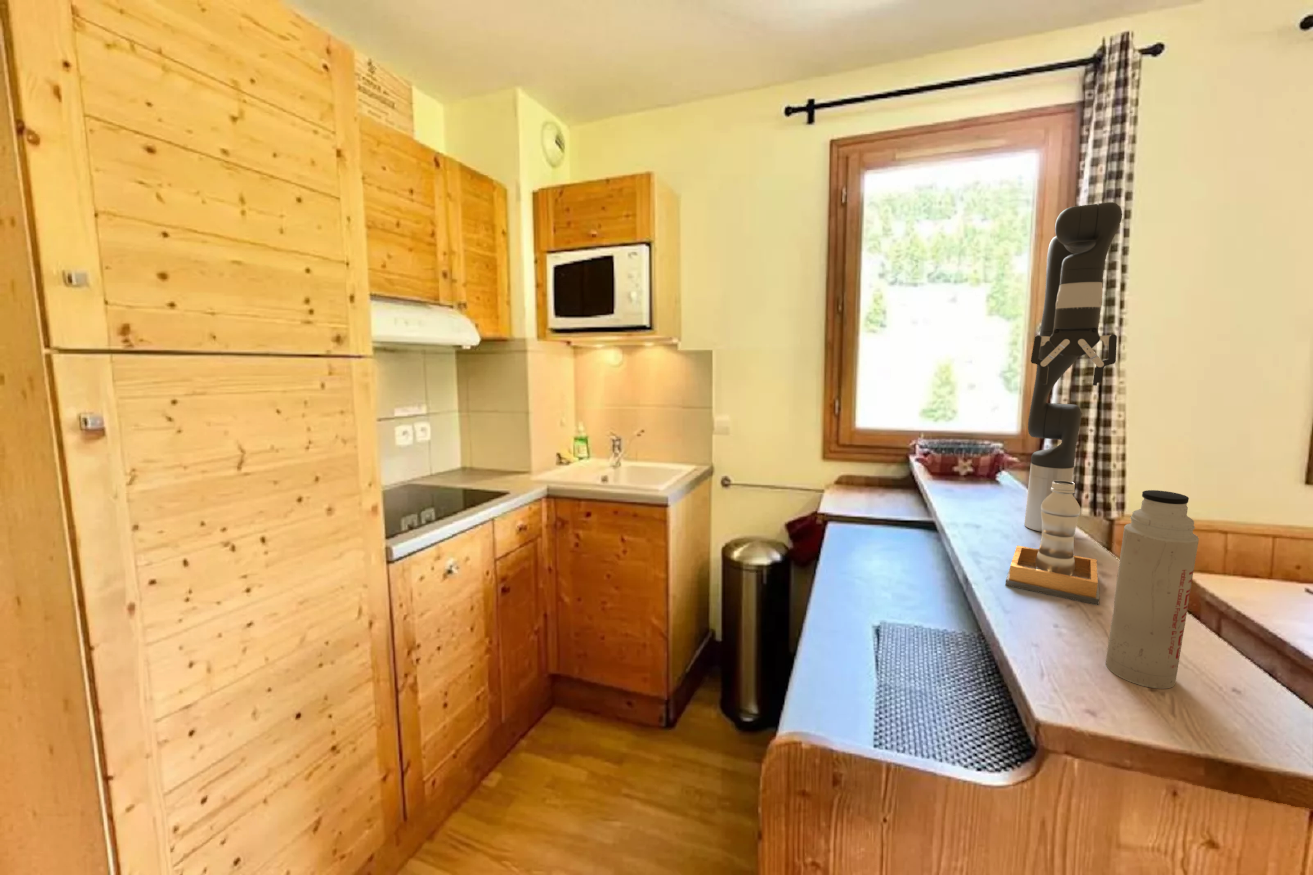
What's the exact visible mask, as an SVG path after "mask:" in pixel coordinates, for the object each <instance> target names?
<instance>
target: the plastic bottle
mask: <svg viewBox="0 0 1313 875" xmlns="http://www.w3.org/2000/svg"><path fill="white" fill-rule="evenodd" d="M1075 486H1076V483H1075V482H1073V481H1072V482H1069V481H1060V480H1056V481H1053V482H1052V487H1051V491H1052V493H1051V494H1050V495H1049V496H1048V497H1046V499H1045V500H1044V501H1043V502H1042V504H1041V517H1042V532H1041V539H1040V543H1039V548H1038V549H1039V551H1038V554H1037V557H1036V561H1035V562H1036V568H1037V569H1039V570H1044V571H1049V572H1054V573H1059V574H1064V575H1069V576H1072V575H1073V573H1074V570H1075V560H1074V557H1073V556H1075V555H1074V554H1075V552H1074V551H1075V550H1074V548H1075V547H1074V546H1075V543H1074V540H1075V534H1076V530H1077V525H1078V522H1079V518H1080V515H1081V506H1080V504H1079V503H1078V501H1077V499H1076V498H1075V497H1074V495H1073V494H1075V493H1076V492H1075Z"/></svg>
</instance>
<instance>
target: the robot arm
mask: <svg viewBox="0 0 1313 875" xmlns="http://www.w3.org/2000/svg"><path fill="white" fill-rule="evenodd" d="M1122 219H1123V211H1122V208H1121V206H1120V205H1119V204H1118V203H1116V202H1112V201H1110V202H1107V201H1106V202H1101V203H1091V204H1082V205H1075V206H1070V207H1067V208H1065V209H1064V210H1062V211H1061V212H1060V213H1059V215H1058V216H1057V218H1056V220H1055V225H1054V233H1055V236H1053V237H1052V239H1051V240H1050V242H1049V245H1048V247H1047V248H1048V249H1047V255H1046V272H1045V273H1046V274H1045V291H1044V293H1045V294H1044V302H1043V310H1042V311H1043V312H1042V315H1041V316H1042V318H1041V323H1040V330H1039V334H1038V335H1036V336H1034V339H1033V344H1032V345H1033V346H1032V351H1031V358H1030V363H1031V364H1034V365H1036V372H1035V379H1034V380H1035V381H1034V387H1033V393H1032V396H1031V403H1030V407H1029V414H1028V420H1027V431H1028V434H1029V436H1030V437H1032V438H1038V439H1046V440H1047V439H1049V440H1060V441H1061V442H1060V444H1059V445H1056V446H1054V447H1051V448H1047V449H1042V450H1037V451H1034V452H1033V453H1032V454H1031V458H1030V466H1029V467H1030V469H1029V475H1028V476H1029V477H1028V486H1027V487H1028V489H1027V496H1026V497H1027V498H1026V508H1025V513H1024V514H1025V515H1024V523H1023V524H1024V526H1025V527H1026V528H1028V529H1030V530H1033V531H1037V532H1041V533H1042V517H1041V504H1042V502H1043V501H1044V500H1045V499H1046V497H1048V496H1049V495H1050V494H1051V493H1052V491H1051V487H1052V482H1053V481H1056V480H1060V481H1069V482H1073V479H1074V469H1075V462H1076V460H1075V459H1076V458H1075V457H1076V449H1077V443H1078V438H1079V432H1080V426H1081V422H1082V410H1081V407H1080V406H1079V405H1078V404H1073V403H1072V404H1071V403H1052V402H1047V400H1048V398H1049V395H1050V393H1051V390H1052V389H1053V388H1054V386H1055V385H1056V384H1057V382H1058V381H1059V380H1060V378H1061V377H1062V376H1063V375H1064V374H1065V373H1066V372H1067V371H1068V370H1069V368H1071V366H1072V365H1073V364H1074V363H1075V362H1076V361H1077V360H1078V358H1079V357H1081V356H1085V355H1087V356H1088V357H1089V358H1090V359H1091V361H1092V362H1093V363H1094V364H1095V367H1094V370H1093V379H1092V386H1093V387H1094V386H1095V387H1096V386H1098V384H1100V383H1101V382H1102V381H1103V374H1104V368H1105V367H1107V366H1110V365H1114V364H1115V363H1116V362H1117V343H1118V341H1117V340H1118V336H1117V334H1116V333H1115V334H1113V333H1112V334H1110V335H1107V334H1106V335H1100V334H1099V327H1100V326H1099V325H1100V318H1101V310H1102V303H1103V278H1104V270H1105V265H1106V259H1107V255H1108V251H1109V250H1110V246H1111V244H1112V242H1113V240H1114V238H1115V236H1116V234H1117V232H1118V229H1119V227H1120V225H1121V222H1122ZM1100 341H1101V342H1103V345H1104V346H1107V359H1101V358H1100V357H1099V355H1098V354H1097V353H1096V352H1095V350H1094V349H1093V348H1094V347H1095V346H1096V345H1097V344H1098V343H1099V342H1100Z"/></svg>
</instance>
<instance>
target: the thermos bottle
mask: <svg viewBox="0 0 1313 875" xmlns="http://www.w3.org/2000/svg"><path fill="white" fill-rule="evenodd" d="M1141 497H1142V498H1143V499H1142V502H1141V507H1140V508H1139V509H1136V510H1134V511H1133V512H1132V515H1131V516H1130V517H1129V518H1130V522H1131V523H1130V522H1129V523H1127V524H1125V525H1124V527H1123V533H1122V540H1121V541H1122V542H1121V549H1120V554H1119V555H1120V556H1119V561H1118V562H1119V563H1118V569H1117V575H1116V576H1117V579H1116V585H1115V589H1114V590H1115V592H1114V597H1113V598H1114V600H1113V610H1112V611H1113V612H1112V619H1111V623H1110V629H1109V633H1108V642H1107V649H1106V650H1107V651H1106V657H1105V666H1106V668H1108V670H1109V671H1110V672H1111V673H1113V674H1114V675H1115V676H1117V677H1119V678H1121V679H1123V680H1125V681H1128V682H1130V683H1133V684H1136V685H1139V686H1142V687H1144V688H1145V687H1146V688H1151V689H1159V690H1160V689H1161V690H1162V689H1163V690H1164V689H1170V688H1173V687H1174V686H1175V685H1176V682H1177V676H1178V669H1179V664H1180V657H1181V650H1182V644H1183V638H1184V634H1185V633H1184V632H1185V626H1186V621H1187V620H1186V619H1187V614H1188V607H1189V601H1190V595H1191V589H1192V582H1193V578H1194V571H1195V564H1196V559H1197V552H1198V548H1199V547H1198V545H1199V540H1200V538H1199V537H1198V535H1196V534H1195V533H1194V530H1195V528H1196V527H1195V520H1193V518H1191V517H1190V516H1188V503H1189V499H1190V498H1189V497H1188V496H1187V495H1185V494H1181V493H1178V492H1174V491H1167V490H1158V489H1157V490H1156V489H1153V490H1152V489H1151V490H1150V489H1149V490H1148V489H1147V490H1143V491H1142V494H1141Z"/></svg>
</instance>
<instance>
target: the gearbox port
mask: <svg viewBox="0 0 1313 875" xmlns="http://www.w3.org/2000/svg"><path fill="white" fill-rule="evenodd" d="M1038 551H1039V548H1033V547H1029V546H1022V545H1016V547H1015V550H1014V554H1013V556H1012V561H1011V563H1010V565H1009V569H1008V573H1007V575H1006V579H1005V586H1007V587H1011V588H1017V589H1020V590H1021V589H1022V590H1026V591H1030V592H1035V593H1041V594H1044V595H1049V596H1054V597H1058V598H1062V599H1067V600H1073V601H1076V602H1077V601H1078V602H1080V603H1085V604H1090V605H1095V606H1099V604H1100V602H1099V601H1100V593H1099V592H1100V591H1099V573H1098V563H1097V559H1095V558H1090V557H1084V556H1080V555H1079V556H1078V555H1074V556H1073V557H1074V560H1075V570H1074V573H1073V575H1072V576H1069V575H1064V574H1059V573H1054V572H1049V571H1044V570H1039V569H1037V568H1036V562H1035V561H1036V557H1037V554H1038Z"/></svg>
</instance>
